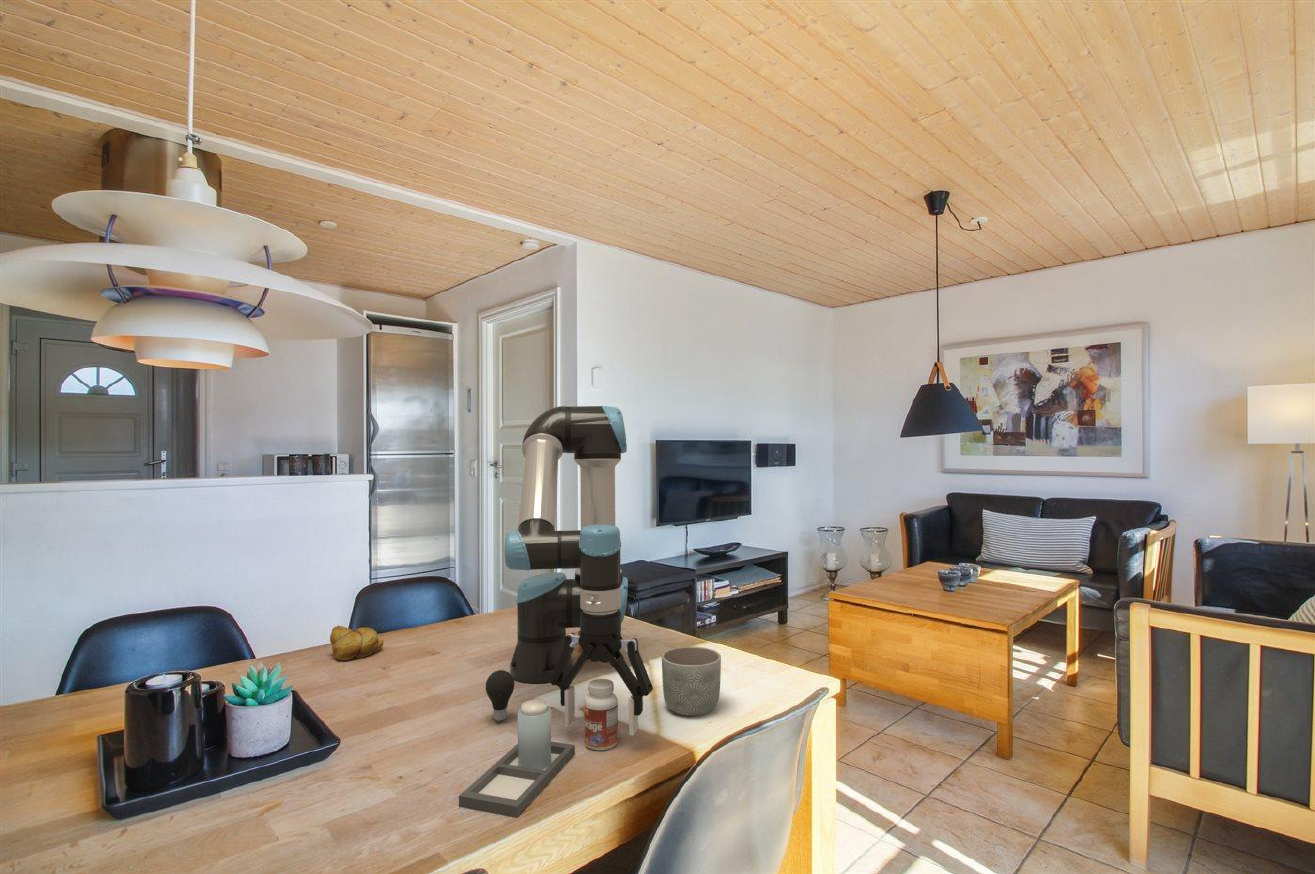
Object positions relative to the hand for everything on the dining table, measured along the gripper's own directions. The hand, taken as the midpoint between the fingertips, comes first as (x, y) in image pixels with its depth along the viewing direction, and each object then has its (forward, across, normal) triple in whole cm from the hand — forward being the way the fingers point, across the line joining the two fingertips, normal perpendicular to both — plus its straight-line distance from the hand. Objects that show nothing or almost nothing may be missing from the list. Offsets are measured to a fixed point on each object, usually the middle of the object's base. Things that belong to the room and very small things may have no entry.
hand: (601, 727), depth 116 cm
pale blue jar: (+3, -8, -10) cm, 14 cm away
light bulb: (+3, -23, +3) cm, 23 cm away
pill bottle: (+3, 0, 0) cm, 3 cm away
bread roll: (+3, -81, +28) cm, 85 cm away
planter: (+3, +12, +20) cm, 24 cm away
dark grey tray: (+3, -8, -15) cm, 17 cm away
